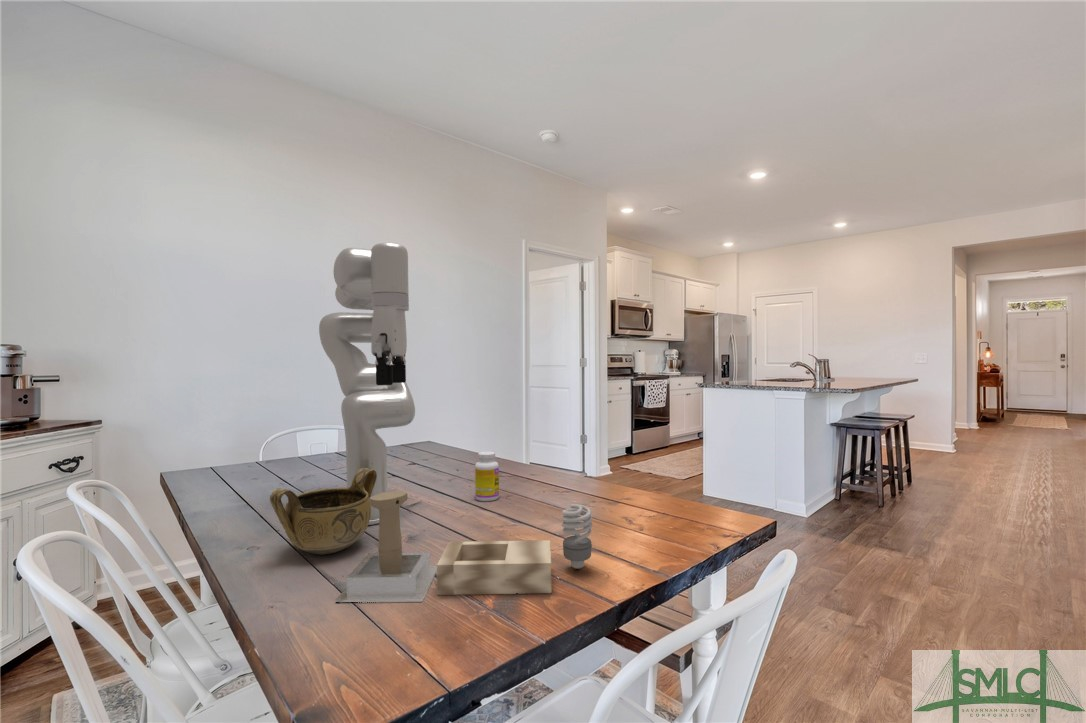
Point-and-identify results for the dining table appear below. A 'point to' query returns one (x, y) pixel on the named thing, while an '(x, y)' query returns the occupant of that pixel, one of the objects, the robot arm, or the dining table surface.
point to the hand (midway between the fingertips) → (391, 383)
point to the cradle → (390, 580)
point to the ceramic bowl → (327, 514)
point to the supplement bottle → (486, 477)
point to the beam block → (495, 568)
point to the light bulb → (577, 535)
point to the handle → (389, 530)
